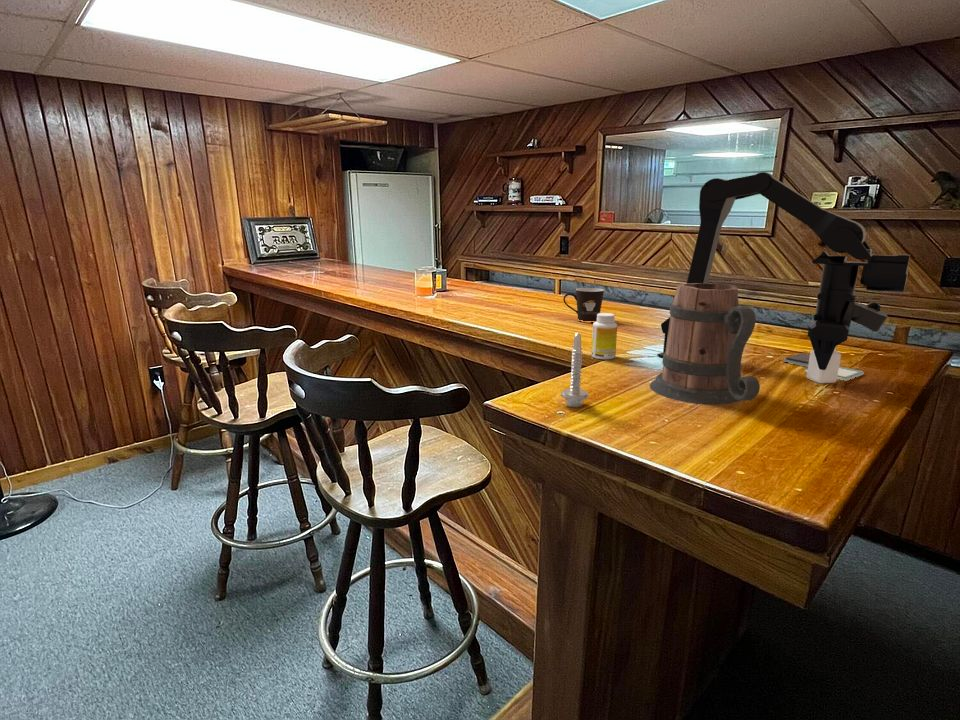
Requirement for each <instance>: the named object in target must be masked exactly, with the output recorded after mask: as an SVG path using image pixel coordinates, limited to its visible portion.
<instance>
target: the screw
mask: <svg viewBox="0 0 960 720" xmlns="http://www.w3.org/2000/svg"><path fill="white" fill-rule="evenodd" d="M572 345H573V346H572V347H571V348H572V349H571V351H572V352H571V359H570V361H571V362H570V364H571V366H570V367H571V369H570V371H571V372H570V374H571V375H570V376H569V377H570V380H569V381H570V382H569V383H570V385H569V387H570V388H569V387H568V388H565V389H563V390H562V391H561V392H560V396H561V397H562V398H564V399H566V400H565V403H566V405H567V406H568V407H570V408H579V407H581V406H583V405H584V404H583V402H584V400H586V399H588V398H589V397H590V393H588V392H587V391H586V390H585V389H582V388H581V386H582V385H581V382H582V381H581V380H582V378H581V376H582V374H581V373H582V368H581V367H582V366H583V365H582V363H583V361H582V360H583V358H582V357H583V351H582V350H583V348H582V336H581V333H579V332H577V333H575V334H574V337H573V343H572Z"/></svg>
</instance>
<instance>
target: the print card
mask: <svg viewBox="0 0 960 720" xmlns="http://www.w3.org/2000/svg"><path fill="white" fill-rule="evenodd" d="M807 370H808V368H807V367H806V368H805V369H804V371H805V372H804V373H807ZM864 373H865V372H864V371H863V370H860V369H859V370H858V369H852V368H848V367H842V366H839V370H838V375H837V380H839V379H840V380H839V381H843V380H844V382H847V381H851V380H853V379H856V378H858V377H860V376H863V375H864ZM855 377H856V378H855ZM850 379H851V380H850Z"/></svg>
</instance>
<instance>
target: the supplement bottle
mask: <svg viewBox="0 0 960 720" xmlns="http://www.w3.org/2000/svg"><path fill="white" fill-rule="evenodd" d="M591 336H592V337H591V338H592V339H591V356H592V357H593V358H595V359H597V360H606V361H607V360H612V359H615V358H616V353H617V341H618V340H617V337H618V323H616V322H615V314H614V313H611V312H609V313H608V312H600V313H599V314H597V321H596V322H594V323H592V335H591Z"/></svg>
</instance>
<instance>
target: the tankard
mask: <svg viewBox="0 0 960 720" xmlns="http://www.w3.org/2000/svg"><path fill="white" fill-rule="evenodd" d="M669 315H670V323H669V330H668V337H667V344H666V351H665V353H664V354H663V357H662V362H661V363H662V371H661V372H660V373H659V374H657V375H656V378H655V379H654V380H652V381H651V382H650V384H649V389H651V391H653V392H654V393H656V394H657V395H659V396H660V397H665V398H667V399H670V400H674V401H677V402H683V403H688V404H695V405H696V404H697V405H706V406H707V405H708V406H711V405H712V406H716V405H719V406H720V405H723V406H724V405H730V404H735V403H738V402H741V401H751V400H753V399H755V398H756V397H757V396H758V394H759V392H760V388H761V387H760V386H761V385H760V384H761V383H760V382H759V380H758V378H757V377H755V376H753V375H749V376H748V375H747V376H742V375H741V367H742V357H743V353H744V349H745V347H746V345H747V343H748V341H749V339H750V338H751V336H752V334H753V332H754V329H755V326H756V313H755V311H754V309H752V308H751V307H750V306H745V305H744V306H743V305H741V306H740V304H739V289H738V286H736V285H733V284H729V283H708V284H704V283H687V282H686V283H681V284H677V286H676V289H675V294H674V298H673V301H672V303H671V304H670V307H669Z"/></svg>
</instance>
